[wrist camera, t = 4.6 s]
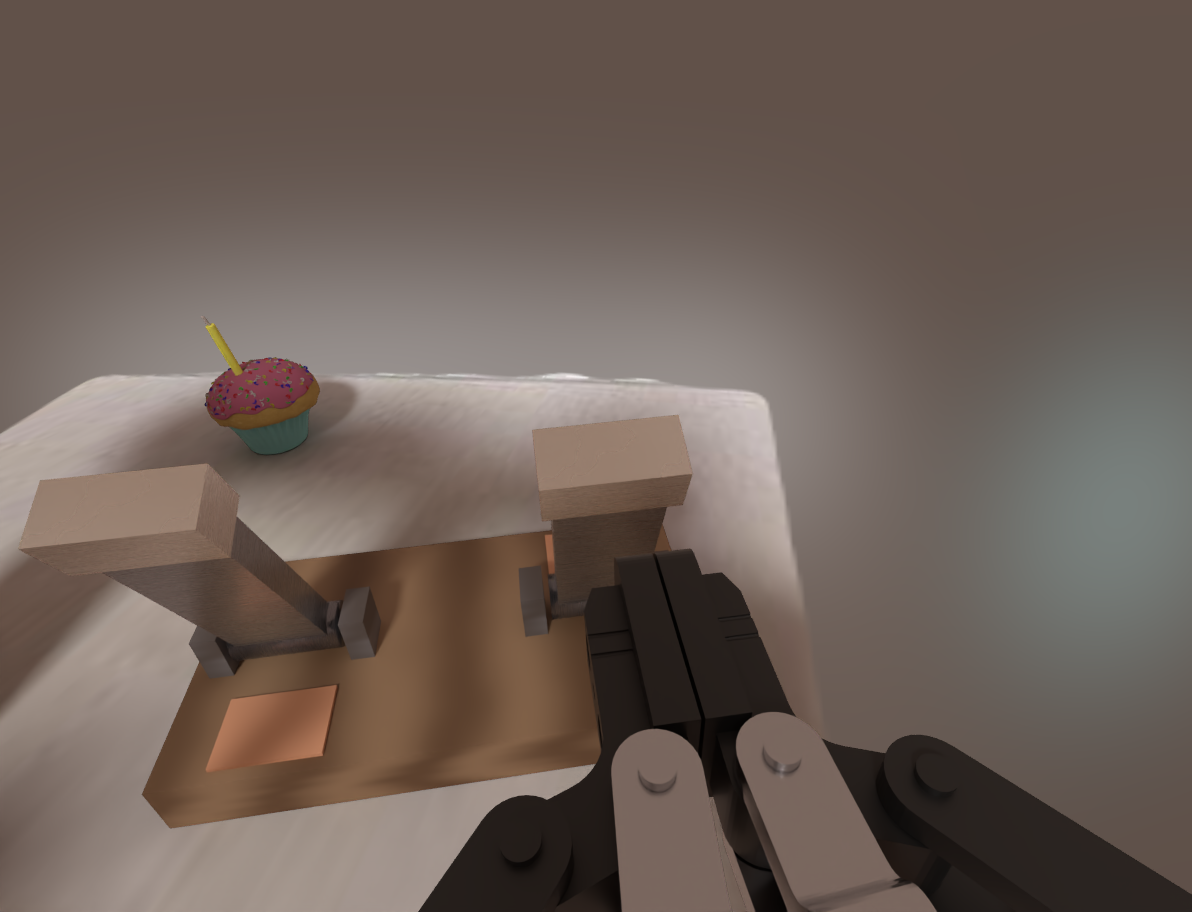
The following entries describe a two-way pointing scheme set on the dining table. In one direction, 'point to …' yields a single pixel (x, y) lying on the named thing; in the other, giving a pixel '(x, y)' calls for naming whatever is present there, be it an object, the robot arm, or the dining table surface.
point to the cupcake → (262, 400)
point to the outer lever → (605, 498)
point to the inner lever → (182, 556)
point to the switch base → (389, 688)
